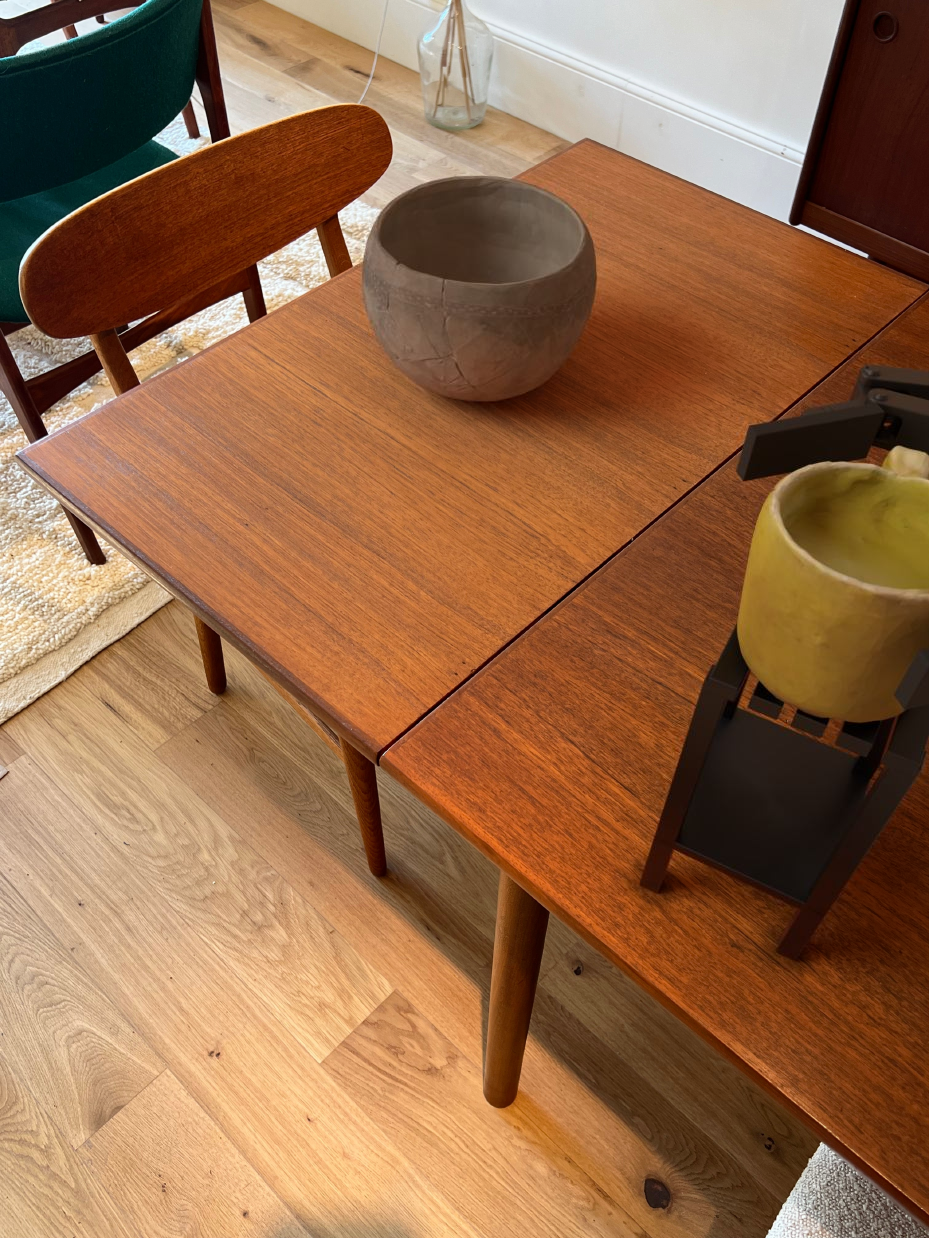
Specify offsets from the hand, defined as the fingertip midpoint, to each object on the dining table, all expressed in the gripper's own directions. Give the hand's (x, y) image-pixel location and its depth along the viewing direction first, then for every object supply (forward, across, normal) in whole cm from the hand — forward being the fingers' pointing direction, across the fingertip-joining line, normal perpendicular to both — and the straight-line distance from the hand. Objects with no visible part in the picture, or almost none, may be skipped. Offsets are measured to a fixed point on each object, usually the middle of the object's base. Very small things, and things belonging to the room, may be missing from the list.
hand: (818, 555), depth 41 cm
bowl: (-2, +53, -27) cm, 60 cm away
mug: (-3, 0, -6) cm, 7 cm away
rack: (-3, 0, -27) cm, 27 cm away
